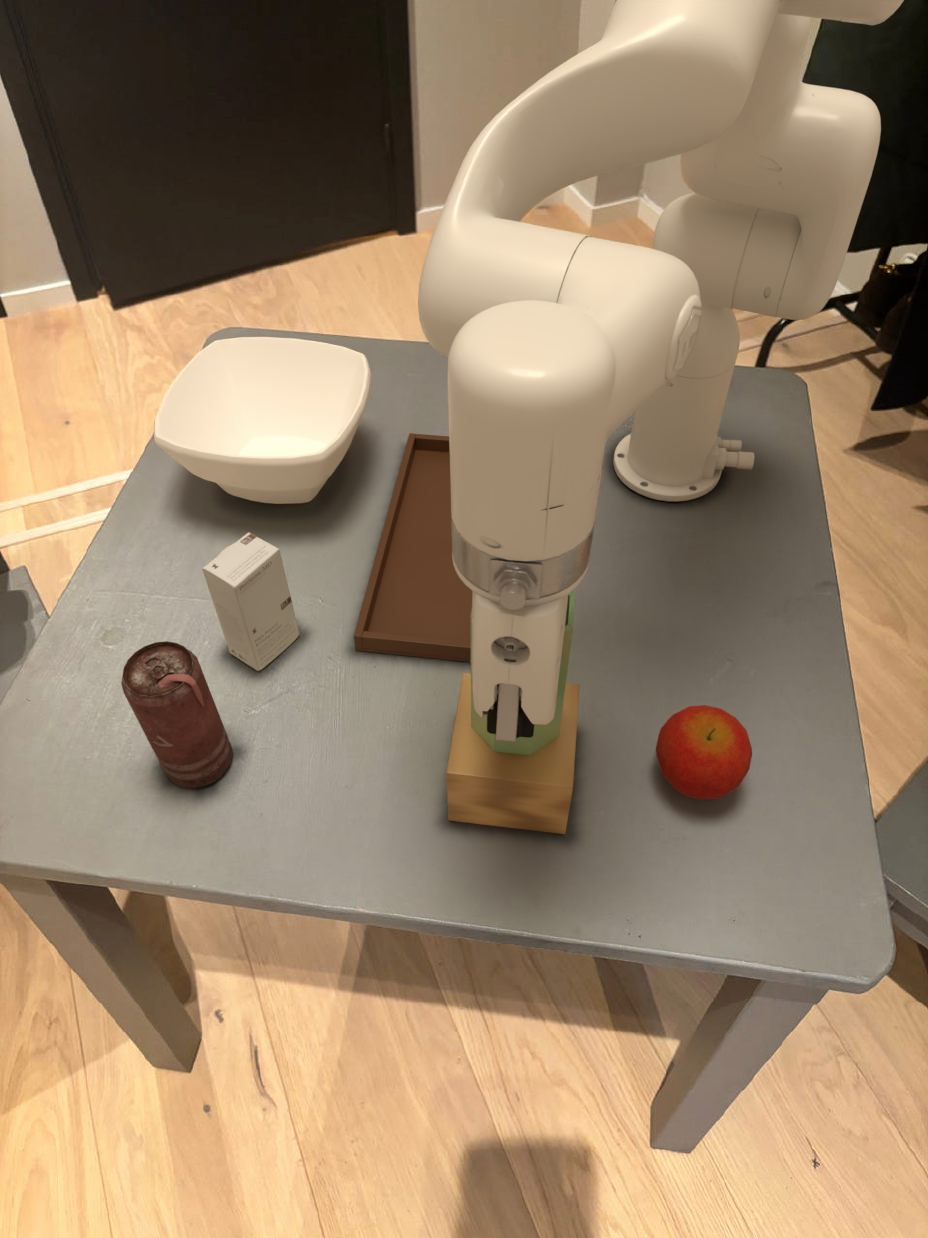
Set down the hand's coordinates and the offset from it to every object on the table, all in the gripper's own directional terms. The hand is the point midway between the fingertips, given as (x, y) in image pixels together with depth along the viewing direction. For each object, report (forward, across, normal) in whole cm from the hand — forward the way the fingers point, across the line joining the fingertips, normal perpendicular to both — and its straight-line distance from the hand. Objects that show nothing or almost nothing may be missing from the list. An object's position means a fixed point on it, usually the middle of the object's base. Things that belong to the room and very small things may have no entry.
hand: (511, 725), depth 62 cm
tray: (+18, +34, +8) cm, 39 cm away
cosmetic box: (+18, +18, +26) cm, 37 cm away
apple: (+18, +8, -16) cm, 25 cm away
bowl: (+18, +43, +31) cm, 56 cm away
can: (+18, +4, +28) cm, 34 cm away
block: (+18, +6, 0) cm, 19 cm away
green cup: (+10, +7, 0) cm, 12 cm away
